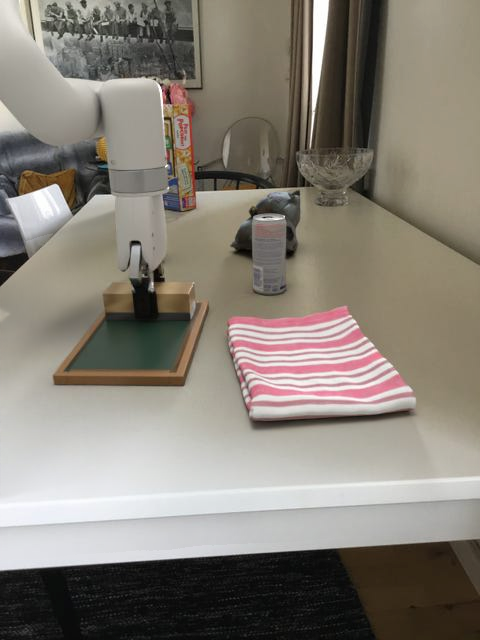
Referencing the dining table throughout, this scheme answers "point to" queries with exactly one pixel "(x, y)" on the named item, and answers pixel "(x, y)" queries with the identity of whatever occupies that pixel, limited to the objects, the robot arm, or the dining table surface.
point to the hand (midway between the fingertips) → (151, 309)
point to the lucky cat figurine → (273, 205)
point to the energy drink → (269, 253)
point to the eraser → (171, 301)
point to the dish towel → (313, 368)
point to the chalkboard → (134, 352)
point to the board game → (179, 158)
